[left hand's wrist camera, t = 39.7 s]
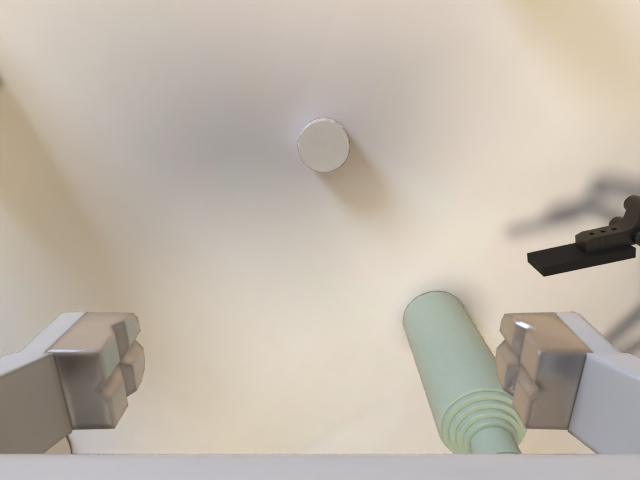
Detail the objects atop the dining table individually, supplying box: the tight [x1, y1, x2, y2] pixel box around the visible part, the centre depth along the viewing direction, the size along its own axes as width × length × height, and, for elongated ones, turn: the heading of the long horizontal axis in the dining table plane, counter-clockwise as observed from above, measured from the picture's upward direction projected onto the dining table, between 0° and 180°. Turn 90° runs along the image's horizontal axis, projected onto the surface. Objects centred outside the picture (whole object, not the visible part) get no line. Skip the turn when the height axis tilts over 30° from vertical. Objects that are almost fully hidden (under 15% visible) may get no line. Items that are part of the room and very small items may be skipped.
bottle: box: [403, 292, 527, 454], centre depth 35 cm, size 6×6×18 cm
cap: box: [298, 118, 350, 172], centre depth 36 cm, size 4×4×2 cm
